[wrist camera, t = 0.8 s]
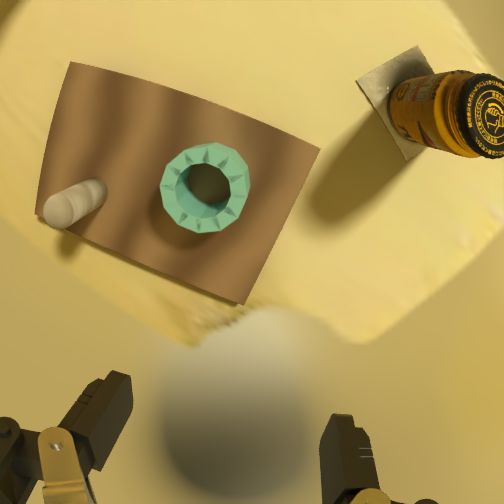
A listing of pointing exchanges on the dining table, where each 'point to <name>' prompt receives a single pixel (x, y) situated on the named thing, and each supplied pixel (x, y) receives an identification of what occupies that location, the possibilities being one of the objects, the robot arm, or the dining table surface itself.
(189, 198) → the ring
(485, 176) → the dining table surface
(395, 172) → the dining table surface
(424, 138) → the condiment
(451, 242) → the dining table surface
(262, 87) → the dining table surface
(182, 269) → the board
